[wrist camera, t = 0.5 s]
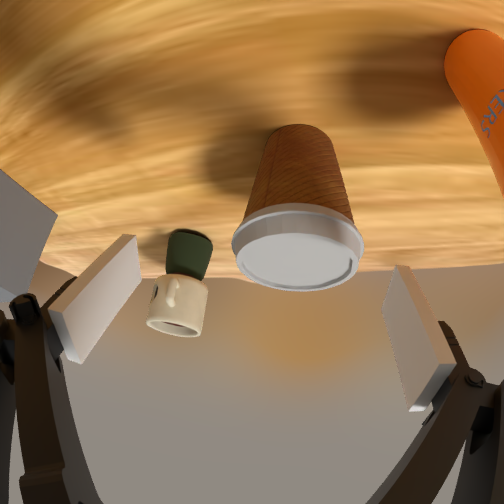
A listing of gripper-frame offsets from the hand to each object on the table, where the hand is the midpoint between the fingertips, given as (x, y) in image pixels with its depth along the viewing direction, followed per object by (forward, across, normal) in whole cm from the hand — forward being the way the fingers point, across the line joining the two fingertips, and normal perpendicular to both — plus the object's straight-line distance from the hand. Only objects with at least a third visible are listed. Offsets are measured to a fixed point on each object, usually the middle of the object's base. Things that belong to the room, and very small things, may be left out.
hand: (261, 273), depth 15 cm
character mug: (+25, -12, -12) cm, 30 cm away
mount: (+19, -43, -5) cm, 47 cm away
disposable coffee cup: (+16, +2, +4) cm, 17 cm away
